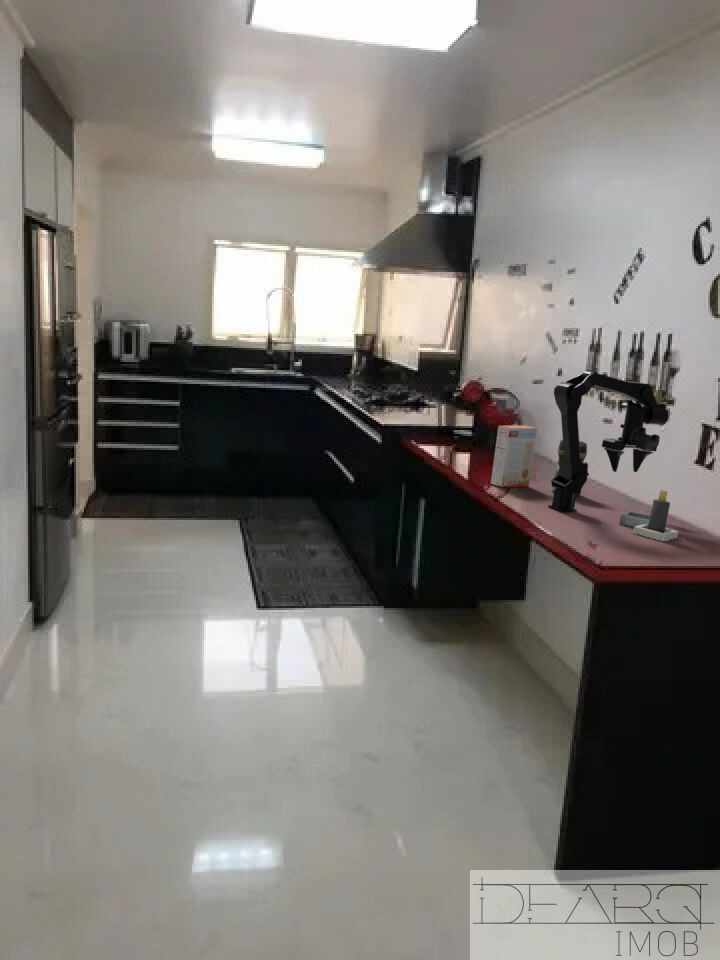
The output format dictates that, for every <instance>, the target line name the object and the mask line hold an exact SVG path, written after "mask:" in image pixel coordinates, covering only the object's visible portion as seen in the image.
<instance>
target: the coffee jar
mask: <svg viewBox="0 0 720 960" xmlns="http://www.w3.org/2000/svg"><path fill="white" fill-rule="evenodd" d="M579 446H580V458H581V460H582V461H583V462H585V459H586V458H587V454H588V453H587V452H588V445H587V443H586V442H585V441H580V440H579ZM557 454H558V461H557V466H556V470H555V474H554V478H555V477H556V476H557V475H558V474H559V473H560V466H561V464H562V461H563V459H564V449H563V439H561V440H560V441H559V444H558V449H557ZM554 489H556V488H555V487H552V486H551V491H552V492H553V493H554ZM581 493H582V490H581V491H580V493H576V497H577V496H580V495H581Z"/></svg>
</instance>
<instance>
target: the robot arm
mask: <svg viewBox="0 0 720 960" xmlns="http://www.w3.org/2000/svg"><path fill="white" fill-rule="evenodd" d="M594 386H595V387H599V388H602V389H604V390H605V389H606V390H609V391H612V392H615V393H618V394H620V395H622V396H623V397H625V398H626V401H624V402H623V403H621V404H620V407H623V408H626V411H625V416H624V421H623V424H622V423H621V424H620V429H621V428H622V431H621V432H622V433H621V436H618V437H617V439H616V438H609V437H608V438H607V437H606V438H604V439H603V440H602V442H601V443H602V444H601V447H602V448H604V450H605V451H606V454H607V457H608V459H609V462H610V465H611V469H612V472H614V473H617V470H618V469H619V468H618V467H619V464H620V460H621V456H622V455H623V454H624V453H625V451H623V450H624V449H626V448H627V449H628V448H629V449H630V448H631V449H632V468H633V472H634V473H637V472H638V471H639V469H640V468H641V466H642V464H643V462H644V460H645V459H646V458H647V457H648V456H650V455H652V454H654V452H657V449H658V446H659V445H660V435H659V434H652V435H651V434H647V429H646V427H644V424H646V425H656V426H657V425H658V426H663V425H666V423H668V421H669V415H670V414H669V412H668V411H669V410H668V409H667V404H666V403H662V402H657V401H656V397H655V395H654V393H653V387H652V385H650V384H649V383H645V382H638V381H630V380H629V381H627V380H622V379H618V378H615V377H611V376H608V375H604V374H601V373H598V372H596V371H592V370H585V371H582V372H581V373H580V374H579V375H576V376H573V377H571V378H569V379H567V380H565V381H563V382H562V381H561V382H559V383H558V384H557V385H556V386H555V387H554V389H553V396H554V400H555V404H556V406H557V408H558V410H559V412H560V417H561V419H560V420H561V431H562V440H563V449H564V459H563V461H562V464H561V466H560V473H559V474H558V475H557V476H556V477H555V476H554V477H555V478H552V479H551V480H550V481H551V482H550V483H551V488H552V487H555V488H556V489H554V492H553V497H552V500H551V501H552V503H551V504H548V505H547V506H548V508H550V507H551V509H552V510H553V509H554V510H556V511H559V512H565V513H567V512H570V513H571V512H577V511H578V509H576V508H575V505H576V500H577V496H576V493H580V491H581V492H582V489H583V487H584V485H585V484H586V483H587V481H588V477H589V476H590V474H589V464H588V462H586V461H582V460H581V458H580V446H579V441H580V435H579V434H580V432H579V431H580V430H579V417H578V412H579V409H580V407H581V405H582V400H583V399H582V398H583V397H584V396H585V395H586V394H588V393H589V392H590V390H591V389H592V388H593V387H594ZM633 401H634V402H633Z"/></svg>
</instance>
